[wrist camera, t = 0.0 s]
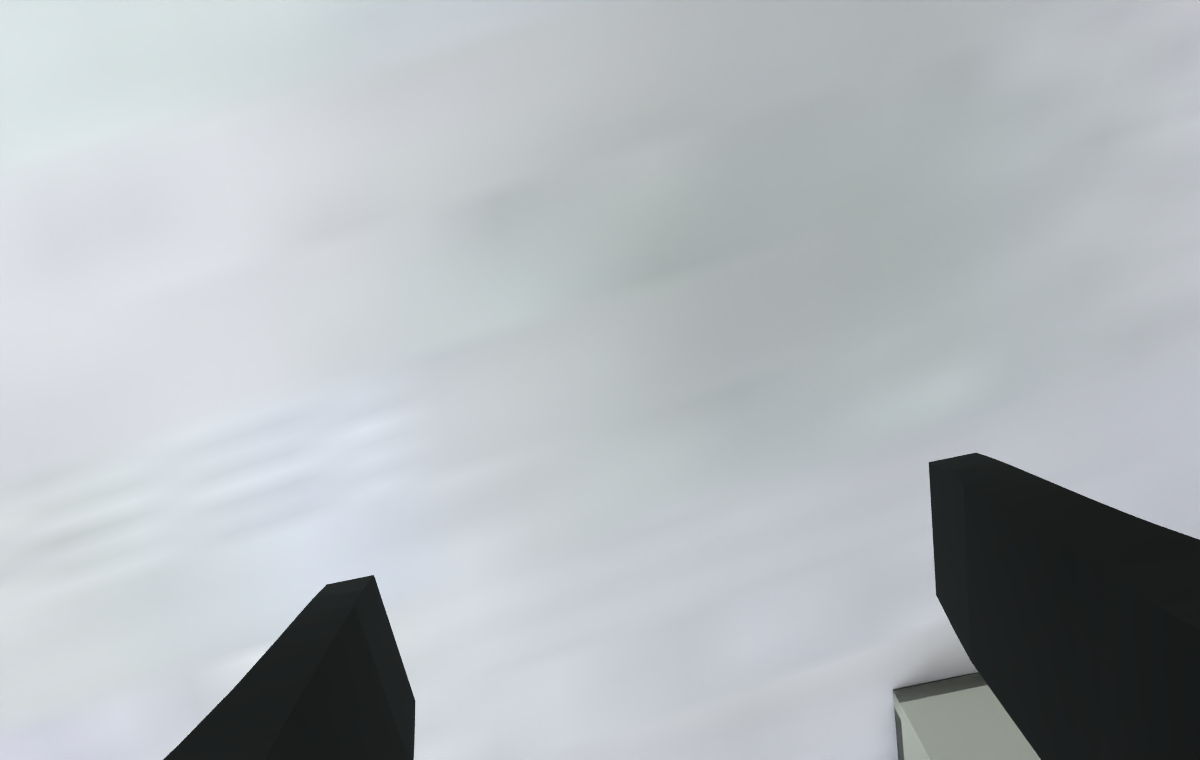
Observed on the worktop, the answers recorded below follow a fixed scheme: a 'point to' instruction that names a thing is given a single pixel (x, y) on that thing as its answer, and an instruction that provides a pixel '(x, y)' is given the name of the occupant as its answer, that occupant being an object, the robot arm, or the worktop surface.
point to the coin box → (956, 723)
